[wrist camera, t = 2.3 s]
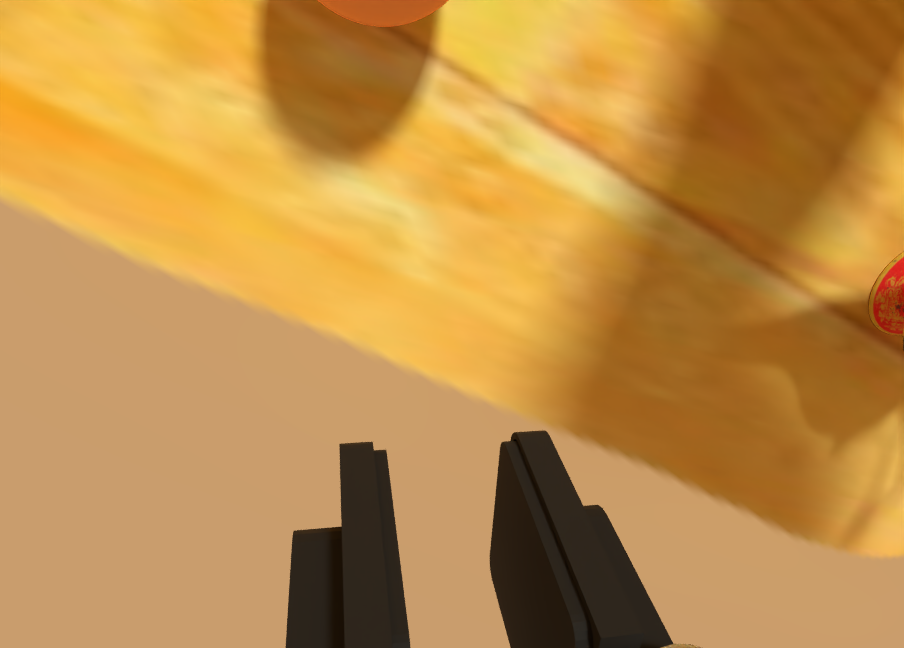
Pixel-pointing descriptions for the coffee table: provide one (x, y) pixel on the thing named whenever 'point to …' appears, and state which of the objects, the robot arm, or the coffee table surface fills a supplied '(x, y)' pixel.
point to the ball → (383, 10)
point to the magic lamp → (889, 299)
